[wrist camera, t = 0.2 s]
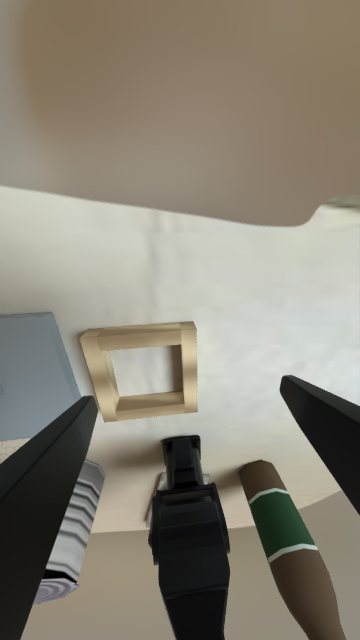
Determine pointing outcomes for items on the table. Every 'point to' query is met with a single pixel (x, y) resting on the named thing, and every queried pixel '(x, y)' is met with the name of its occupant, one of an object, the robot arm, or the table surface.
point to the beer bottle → (291, 553)
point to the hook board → (32, 375)
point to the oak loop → (141, 336)
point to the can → (72, 536)
